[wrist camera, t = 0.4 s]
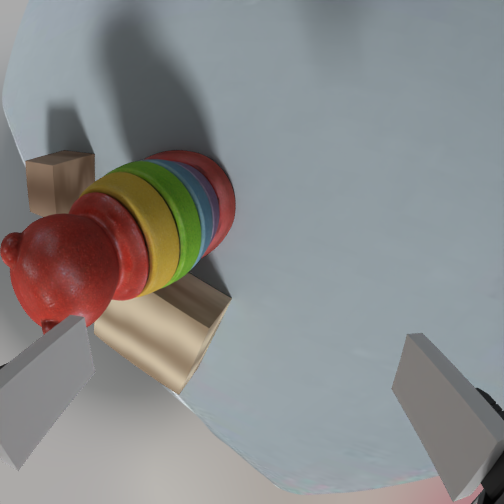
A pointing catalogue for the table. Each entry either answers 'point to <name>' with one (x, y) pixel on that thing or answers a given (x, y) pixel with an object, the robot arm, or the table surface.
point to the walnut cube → (58, 180)
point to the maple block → (165, 329)
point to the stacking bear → (121, 237)
